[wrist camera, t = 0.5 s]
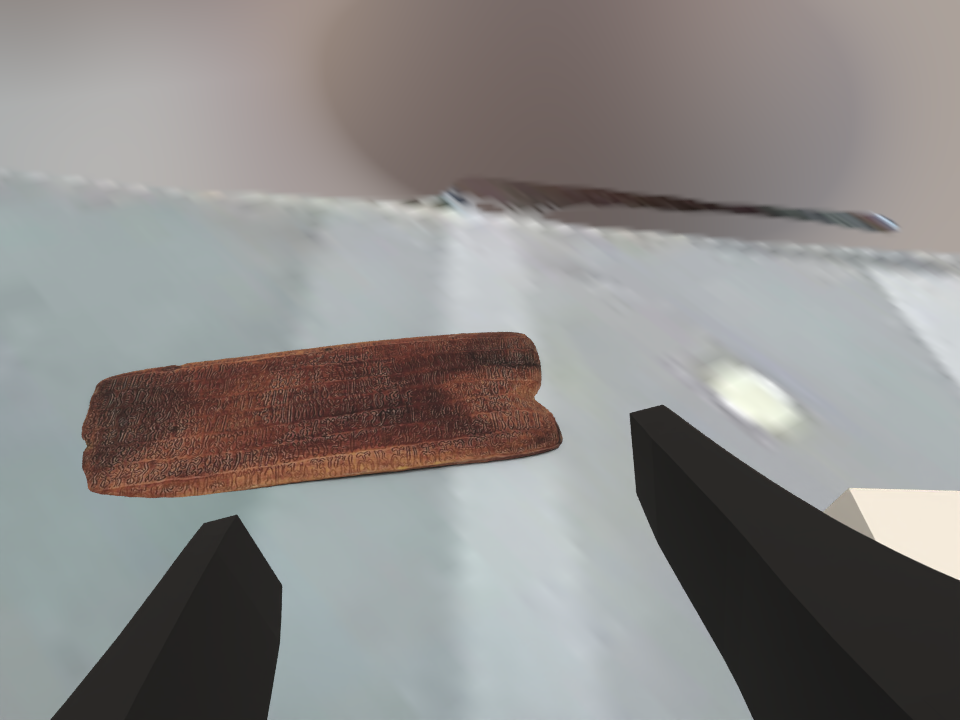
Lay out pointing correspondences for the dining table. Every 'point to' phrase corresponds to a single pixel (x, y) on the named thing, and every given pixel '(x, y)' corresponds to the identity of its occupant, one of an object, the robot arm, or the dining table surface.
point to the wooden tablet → (316, 415)
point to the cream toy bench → (906, 522)
